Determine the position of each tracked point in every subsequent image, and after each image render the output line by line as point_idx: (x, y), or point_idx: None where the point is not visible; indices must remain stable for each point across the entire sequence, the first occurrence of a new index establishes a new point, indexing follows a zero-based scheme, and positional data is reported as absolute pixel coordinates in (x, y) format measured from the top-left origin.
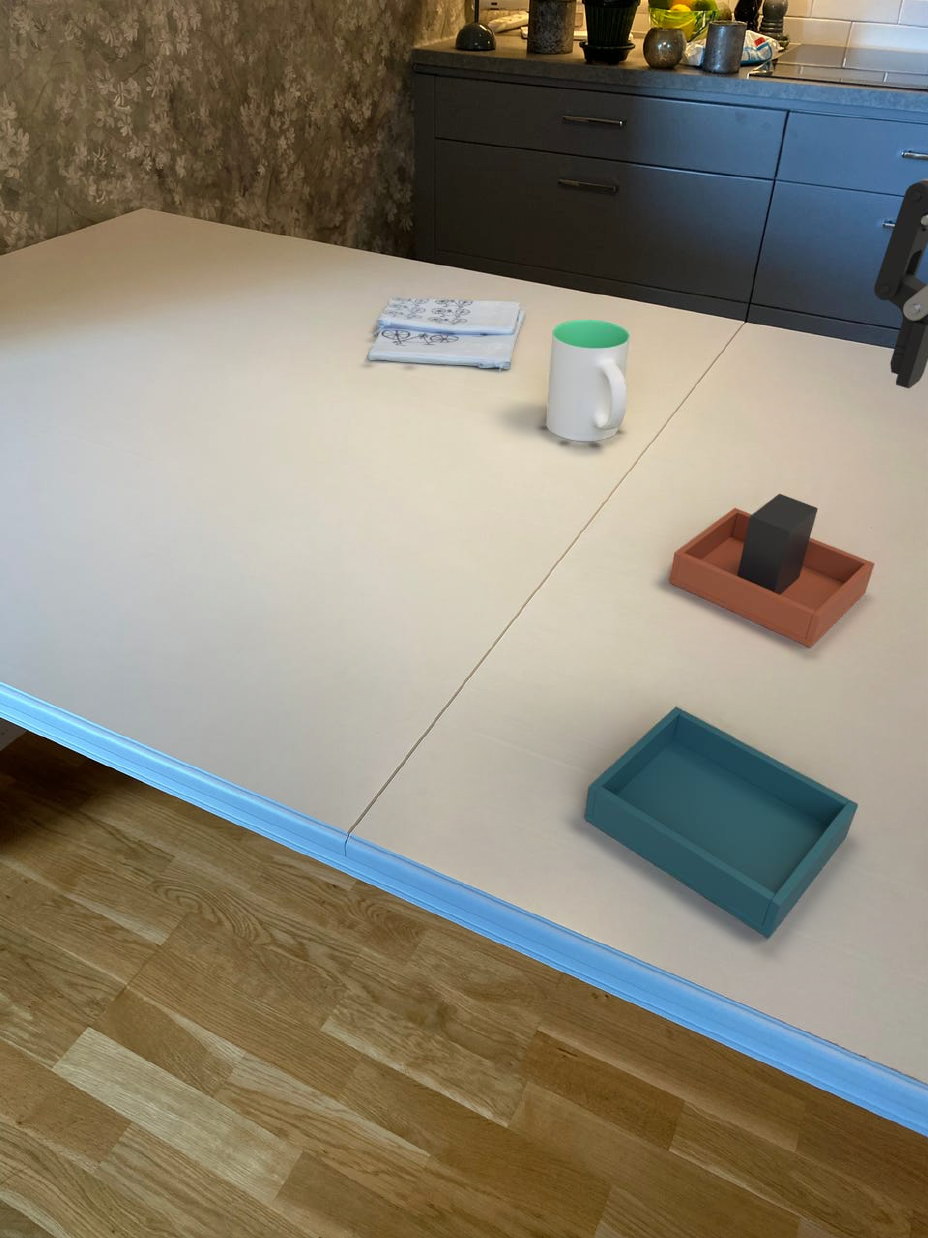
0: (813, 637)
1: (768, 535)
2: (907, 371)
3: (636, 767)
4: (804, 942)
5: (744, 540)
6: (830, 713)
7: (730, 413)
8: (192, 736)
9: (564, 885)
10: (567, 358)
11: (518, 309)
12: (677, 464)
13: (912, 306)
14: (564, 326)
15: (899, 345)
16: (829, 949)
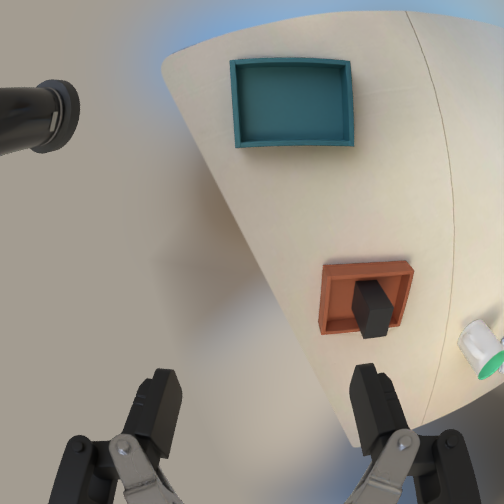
0: (324, 268)
1: (378, 303)
2: (368, 378)
3: (344, 100)
4: (219, 76)
5: None
6: (290, 224)
7: (415, 385)
8: (476, 30)
9: (321, 30)
10: (497, 346)
11: (502, 370)
12: (429, 342)
13: (410, 443)
14: (502, 361)
15: (393, 400)
16: (209, 82)
